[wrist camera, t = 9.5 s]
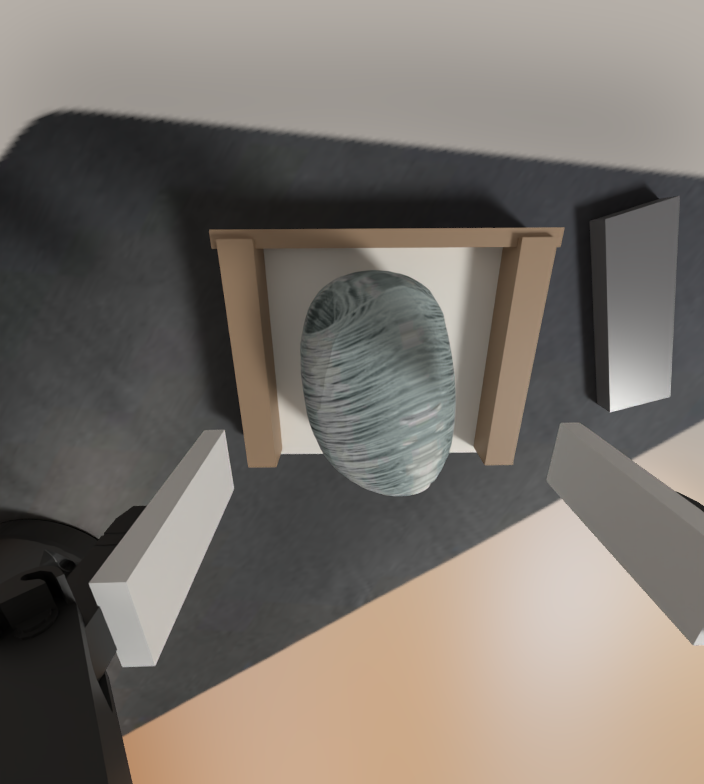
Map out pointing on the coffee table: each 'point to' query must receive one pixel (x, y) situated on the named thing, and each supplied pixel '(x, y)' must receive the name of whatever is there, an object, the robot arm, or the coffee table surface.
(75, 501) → the coffee table surface
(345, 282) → the grey streaked oval piece
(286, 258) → the shelf bay
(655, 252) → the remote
